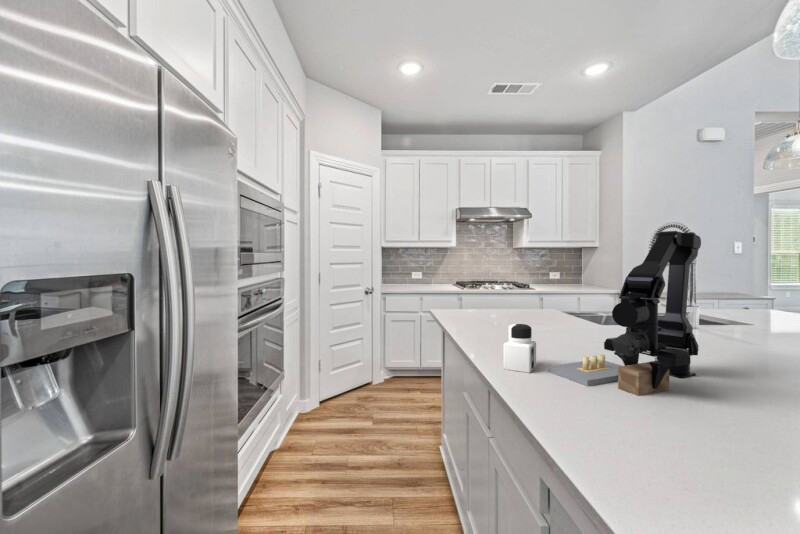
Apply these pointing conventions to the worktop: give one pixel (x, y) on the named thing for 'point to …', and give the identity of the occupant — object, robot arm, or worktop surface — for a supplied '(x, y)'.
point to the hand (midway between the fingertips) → (643, 384)
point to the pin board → (588, 371)
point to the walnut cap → (639, 379)
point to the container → (519, 349)
